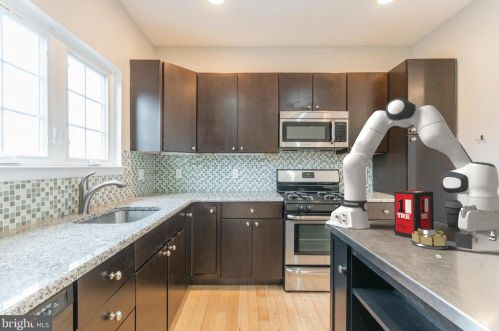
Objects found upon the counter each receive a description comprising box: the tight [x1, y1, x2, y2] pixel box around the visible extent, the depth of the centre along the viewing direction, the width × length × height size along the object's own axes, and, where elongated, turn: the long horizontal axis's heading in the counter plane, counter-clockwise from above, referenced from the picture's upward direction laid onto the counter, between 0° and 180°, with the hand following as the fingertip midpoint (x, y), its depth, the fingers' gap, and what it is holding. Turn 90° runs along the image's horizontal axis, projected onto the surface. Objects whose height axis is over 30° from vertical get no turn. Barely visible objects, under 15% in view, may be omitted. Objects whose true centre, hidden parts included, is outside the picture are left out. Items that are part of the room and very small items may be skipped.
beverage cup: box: [444, 194, 464, 233], centre depth 124 cm, size 7×7×20 cm
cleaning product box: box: [393, 189, 435, 240], centre depth 118 cm, size 16×9×20 cm, turn 121°
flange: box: [410, 229, 449, 251], centre depth 101 cm, size 12×12×6 cm
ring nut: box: [411, 228, 473, 250], centre depth 98 cm, size 18×11×5 cm, turn 45°
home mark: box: [435, 254, 443, 260], centre depth 87 cm, size 4×1×1 cm, turn 155°
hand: (483, 241), depth 95 cm, fingers open, 8 cm apart
